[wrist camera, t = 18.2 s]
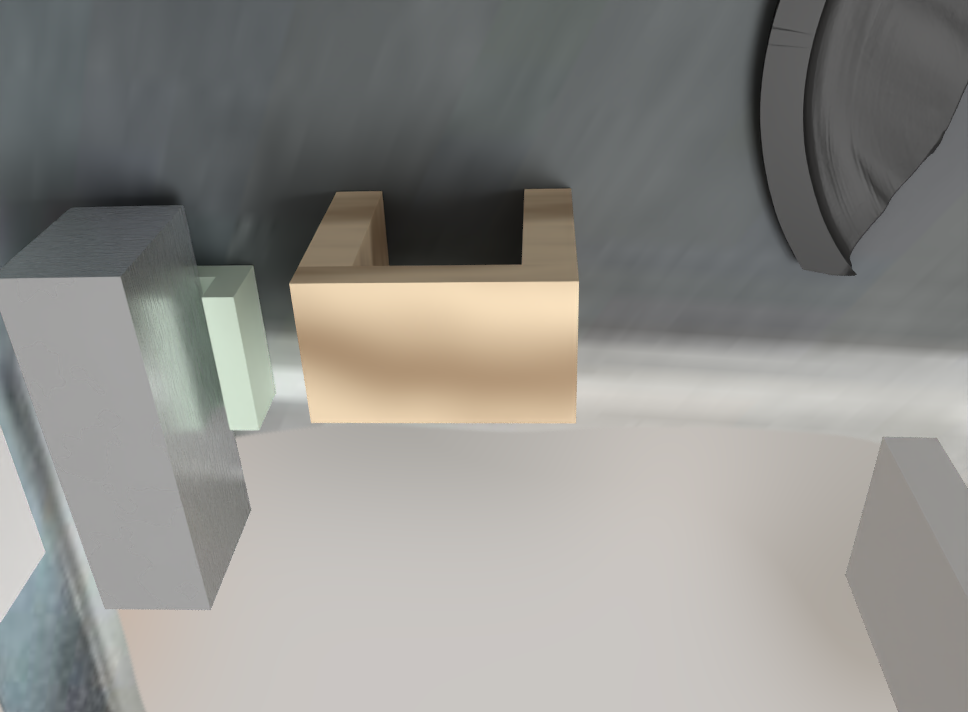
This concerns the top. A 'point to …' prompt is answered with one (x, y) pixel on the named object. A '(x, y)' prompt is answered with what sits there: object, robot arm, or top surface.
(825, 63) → the fan shaped piece
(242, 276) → the cradle
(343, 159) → the top surface
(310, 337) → the block
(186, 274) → the steel bar
